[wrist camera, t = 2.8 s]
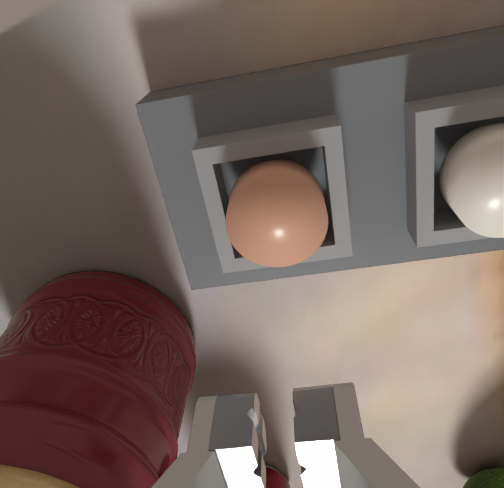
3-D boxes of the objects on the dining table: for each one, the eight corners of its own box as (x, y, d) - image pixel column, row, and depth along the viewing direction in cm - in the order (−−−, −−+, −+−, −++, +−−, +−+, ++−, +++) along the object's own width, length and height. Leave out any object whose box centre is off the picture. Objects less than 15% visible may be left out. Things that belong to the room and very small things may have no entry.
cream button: (549, 113, 20) (578, 126, 18) (537, 208, 22) (562, 230, 20) (439, 131, 20) (456, 146, 18) (438, 222, 23) (453, 244, 21)
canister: (11, 252, 30) (-262, 529, 15) (206, 279, 31) (137, 576, 15) (32, 390, 37) (-144, 683, 21) (192, 411, 37) (134, 713, 22)
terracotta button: (318, 151, 21) (322, 167, 19) (328, 237, 23) (333, 260, 21) (220, 167, 22) (215, 184, 20) (239, 250, 24) (236, 273, 22)
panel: (828, -36, 21) (976, -42, 16) (746, 188, 26) (841, 229, 21) (150, 92, 25) (123, 115, 20) (198, 263, 30) (185, 310, 26)
